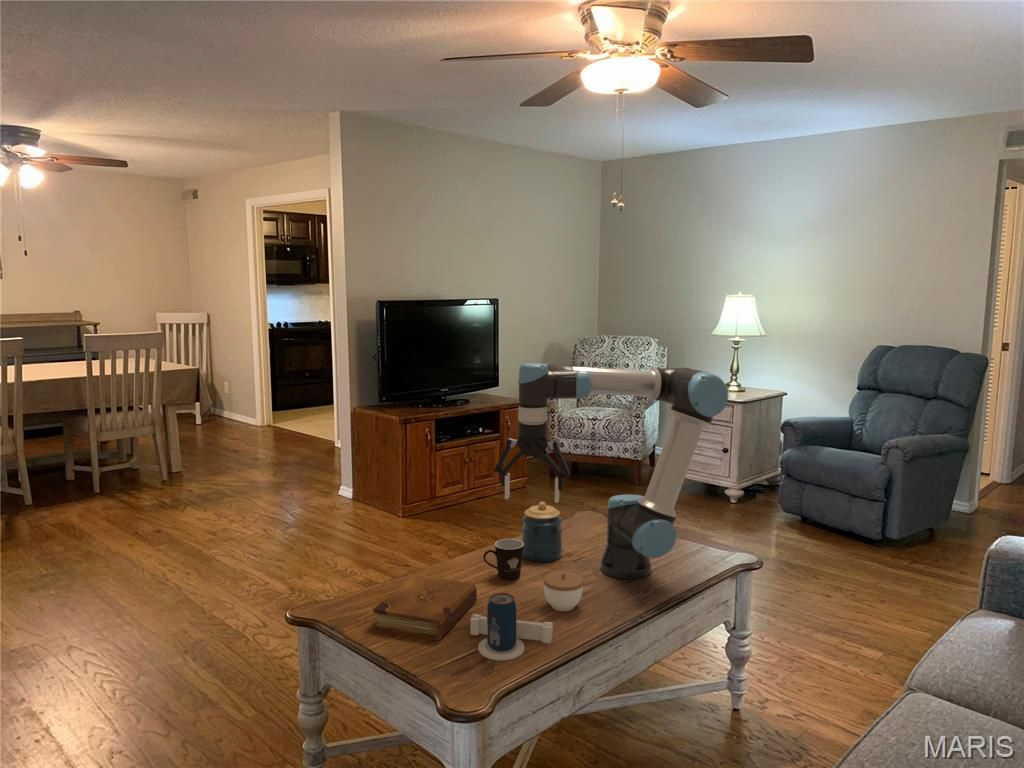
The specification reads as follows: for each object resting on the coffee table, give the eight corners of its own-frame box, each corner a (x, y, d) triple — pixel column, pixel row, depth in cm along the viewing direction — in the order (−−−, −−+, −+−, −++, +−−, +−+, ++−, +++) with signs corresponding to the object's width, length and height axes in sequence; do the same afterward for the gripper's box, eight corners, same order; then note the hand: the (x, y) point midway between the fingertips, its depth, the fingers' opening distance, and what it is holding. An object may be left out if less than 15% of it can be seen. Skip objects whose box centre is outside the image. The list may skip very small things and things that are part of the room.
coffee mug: (524, 571, 217) (525, 539, 216) (522, 582, 208) (522, 549, 207) (486, 569, 218) (486, 537, 217) (482, 581, 210) (482, 548, 208)
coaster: (528, 640, 175) (528, 637, 175) (519, 663, 164) (519, 660, 164) (484, 635, 177) (484, 632, 177) (472, 657, 167) (472, 654, 166)
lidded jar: (556, 618, 186) (556, 584, 185) (535, 602, 196) (536, 569, 194) (590, 610, 191) (591, 576, 190) (569, 594, 201) (569, 562, 199)
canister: (515, 559, 226) (515, 505, 224) (530, 545, 238) (530, 494, 236) (554, 565, 222) (554, 510, 219) (567, 551, 233) (568, 498, 231)
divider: (552, 637, 176) (552, 622, 176) (550, 643, 173) (550, 628, 173) (473, 629, 180) (473, 614, 180) (470, 634, 177) (470, 619, 177)
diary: (441, 643, 175) (440, 620, 174) (373, 630, 181) (373, 609, 180) (476, 603, 196) (476, 583, 195) (415, 593, 202) (414, 573, 201)
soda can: (515, 638, 174) (516, 591, 172) (516, 653, 167) (517, 604, 166) (487, 638, 174) (487, 592, 172) (487, 653, 167) (487, 604, 165)
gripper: (581, 421, 190) (579, 498, 193) (490, 417, 196) (490, 492, 199) (577, 426, 183) (576, 507, 186) (483, 422, 189) (483, 500, 191)
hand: (531, 499), depth 192 cm, fingers open, 13 cm apart
